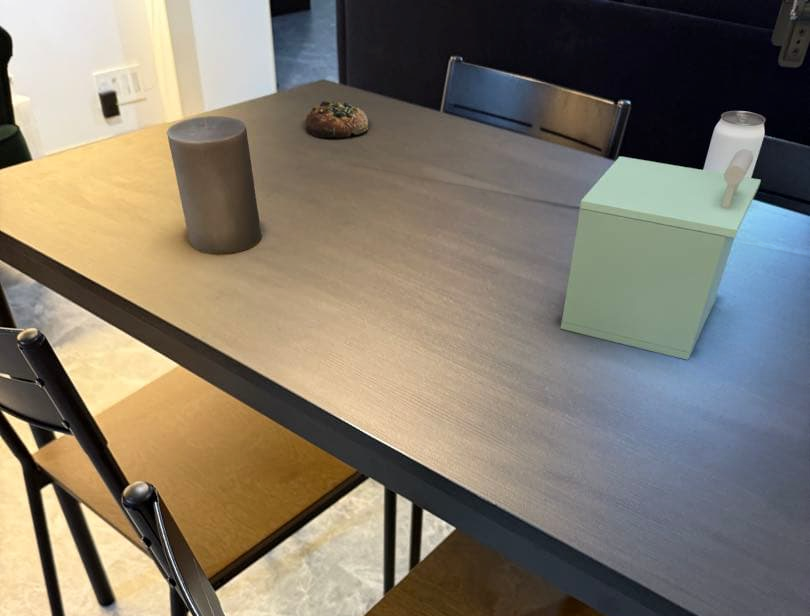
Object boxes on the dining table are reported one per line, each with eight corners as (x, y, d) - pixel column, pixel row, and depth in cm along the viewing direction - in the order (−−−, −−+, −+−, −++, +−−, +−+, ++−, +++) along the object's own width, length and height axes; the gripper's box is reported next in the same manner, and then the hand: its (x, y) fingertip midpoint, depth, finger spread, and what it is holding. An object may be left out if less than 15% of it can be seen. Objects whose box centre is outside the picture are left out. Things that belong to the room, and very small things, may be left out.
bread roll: (298, 136, 130) (297, 103, 127) (315, 125, 138) (314, 93, 135) (362, 143, 129) (362, 109, 126) (374, 131, 137) (375, 99, 134)
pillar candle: (276, 237, 102) (261, 115, 92) (218, 262, 97) (195, 135, 87) (231, 217, 107) (212, 98, 96) (173, 239, 102) (146, 117, 91)
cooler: (713, 303, 90) (750, 186, 80) (687, 360, 81) (725, 236, 72) (596, 277, 94) (618, 164, 85) (560, 328, 86) (579, 208, 76)
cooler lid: (758, 187, 80) (774, 138, 77) (734, 238, 71) (751, 185, 68) (618, 163, 85) (627, 116, 81) (579, 208, 76) (587, 157, 73)
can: (690, 214, 108) (715, 121, 99) (696, 197, 112) (720, 107, 103) (738, 221, 106) (767, 128, 98) (742, 204, 110) (770, 113, 102)
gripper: (916, -154, 60) (832, 77, 72) (884, -164, 70) (815, 41, 82) (816, -157, 62) (750, 71, 73) (799, -167, 71) (742, 36, 83)
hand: (784, 55), depth 78 cm, fingers open, 8 cm apart
